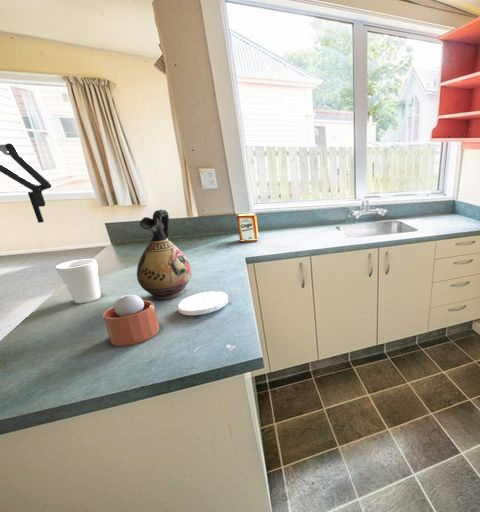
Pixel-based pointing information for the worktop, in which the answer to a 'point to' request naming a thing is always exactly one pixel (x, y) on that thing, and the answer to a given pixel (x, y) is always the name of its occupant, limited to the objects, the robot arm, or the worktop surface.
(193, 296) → the plastic lid
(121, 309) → the lightbulb
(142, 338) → the holder
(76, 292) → the foam cup
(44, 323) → the worktop surface
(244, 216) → the baking soda box
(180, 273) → the ceramic jug
